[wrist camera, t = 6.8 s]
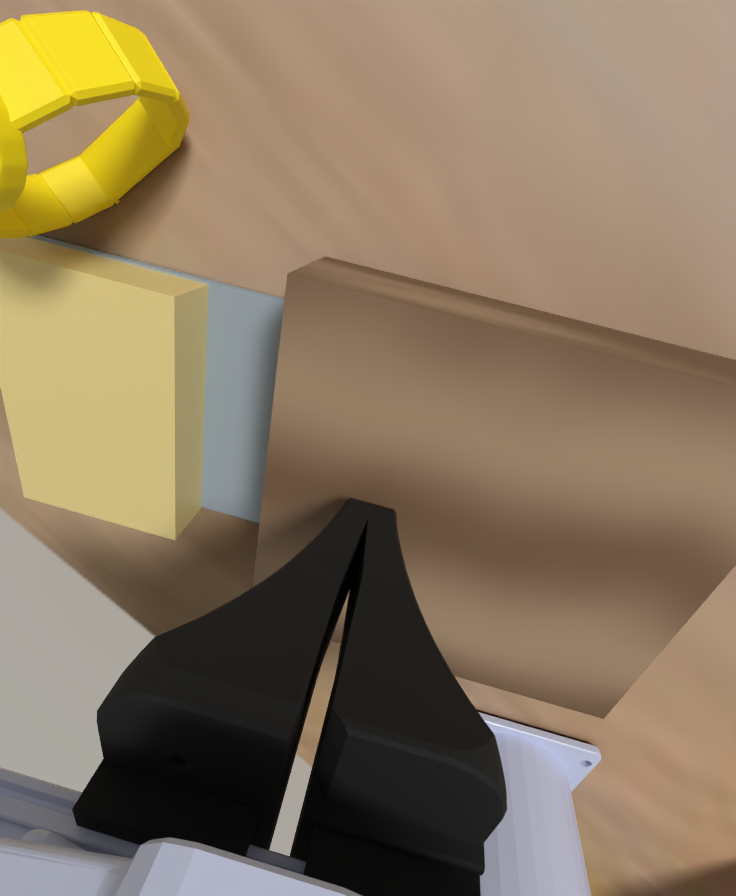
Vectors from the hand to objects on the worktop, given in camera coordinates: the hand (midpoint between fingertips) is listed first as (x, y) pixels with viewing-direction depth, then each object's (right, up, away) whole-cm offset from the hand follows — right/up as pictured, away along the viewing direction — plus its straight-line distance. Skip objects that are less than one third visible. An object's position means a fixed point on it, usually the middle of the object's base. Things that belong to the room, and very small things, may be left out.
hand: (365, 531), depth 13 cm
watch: (-7, +11, +1) cm, 13 cm away
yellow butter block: (-9, +3, +2) cm, 10 cm away
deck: (+4, +1, +4) cm, 5 cm away
